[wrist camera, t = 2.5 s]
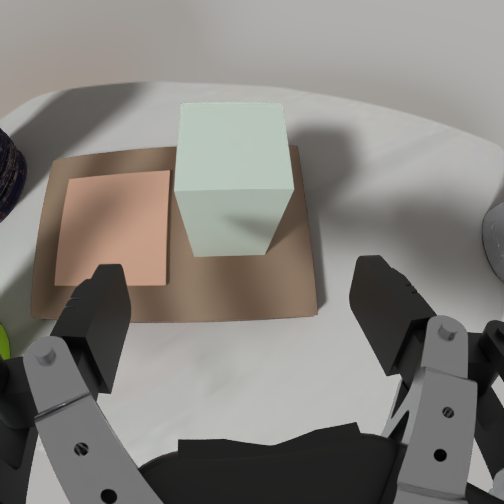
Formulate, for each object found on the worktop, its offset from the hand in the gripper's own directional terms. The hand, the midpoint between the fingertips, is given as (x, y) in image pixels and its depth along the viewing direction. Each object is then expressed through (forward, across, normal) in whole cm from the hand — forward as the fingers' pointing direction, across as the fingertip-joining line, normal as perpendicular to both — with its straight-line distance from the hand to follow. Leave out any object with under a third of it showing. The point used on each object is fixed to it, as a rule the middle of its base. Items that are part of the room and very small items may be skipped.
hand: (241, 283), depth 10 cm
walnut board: (+14, +5, +4) cm, 15 cm away
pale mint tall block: (+13, 0, +3) cm, 13 cm away
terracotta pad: (+13, +9, +3) cm, 16 cm away
